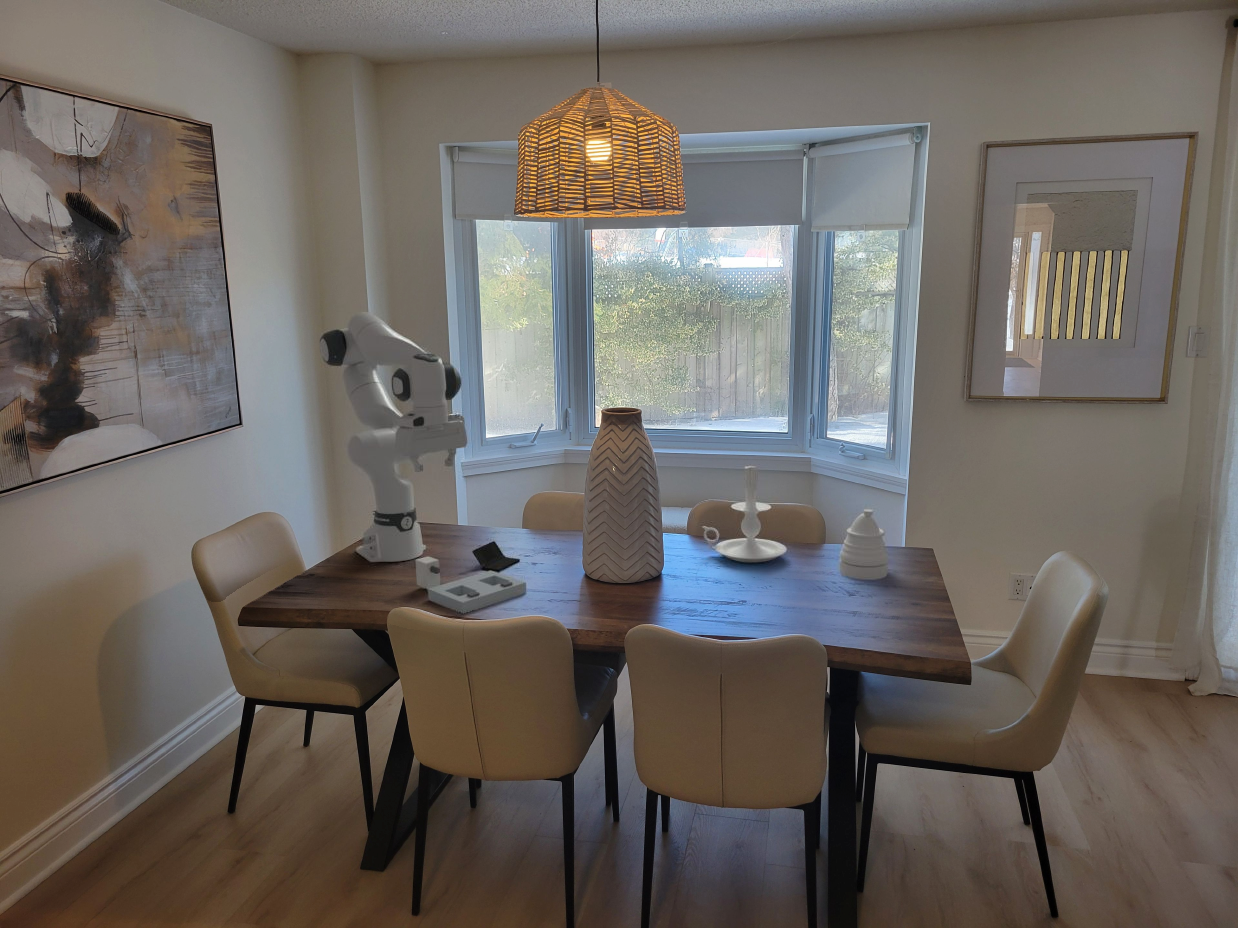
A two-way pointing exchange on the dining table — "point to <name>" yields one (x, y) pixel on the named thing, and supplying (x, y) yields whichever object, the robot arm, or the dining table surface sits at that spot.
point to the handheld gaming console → (493, 558)
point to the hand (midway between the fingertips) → (434, 468)
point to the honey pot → (864, 550)
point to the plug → (427, 572)
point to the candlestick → (748, 529)
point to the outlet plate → (477, 591)
